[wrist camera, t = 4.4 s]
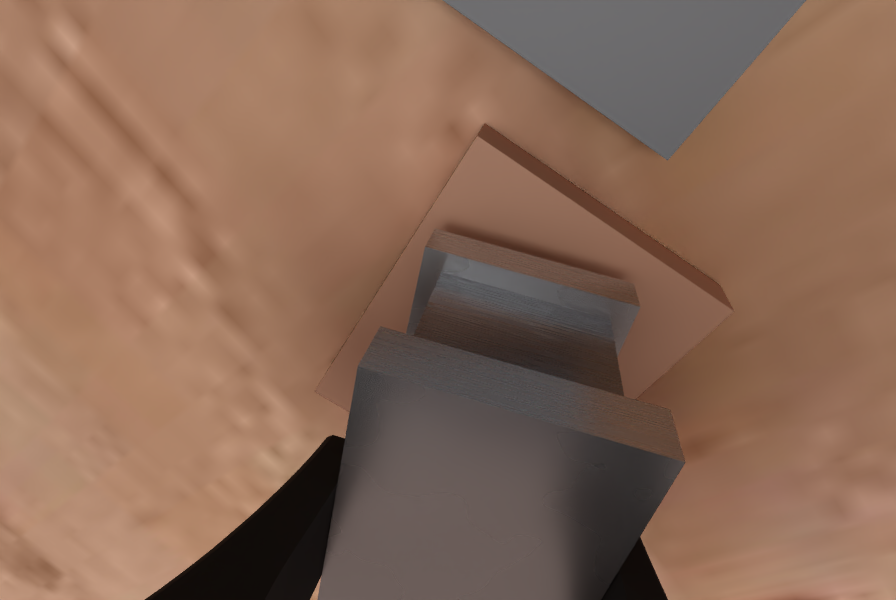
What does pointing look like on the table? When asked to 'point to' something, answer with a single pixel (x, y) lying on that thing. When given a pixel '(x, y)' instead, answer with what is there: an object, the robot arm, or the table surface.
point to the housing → (497, 438)
